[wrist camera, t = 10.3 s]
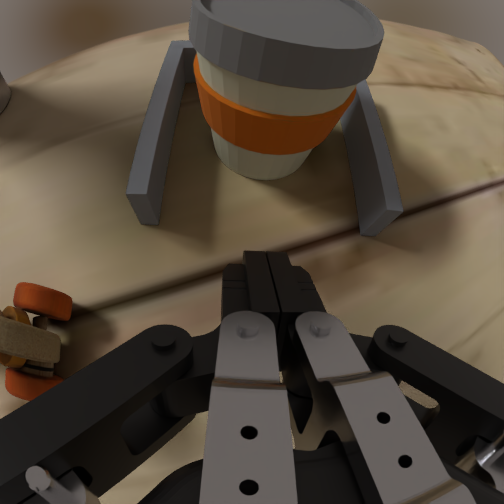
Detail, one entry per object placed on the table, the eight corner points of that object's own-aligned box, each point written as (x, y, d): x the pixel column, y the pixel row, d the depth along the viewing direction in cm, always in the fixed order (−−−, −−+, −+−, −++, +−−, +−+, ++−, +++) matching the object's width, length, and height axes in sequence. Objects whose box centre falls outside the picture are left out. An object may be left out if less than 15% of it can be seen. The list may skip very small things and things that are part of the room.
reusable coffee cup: (184, 107, 29) (177, -24, 15) (297, 93, 31) (332, -22, 17) (210, 212, 25) (209, 56, 11) (345, 185, 27) (425, 62, 13)
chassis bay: (375, 236, 26) (408, 206, 21) (140, 224, 24) (122, 187, 19) (344, 90, 32) (360, 54, 27) (174, 74, 30) (171, 35, 25)
